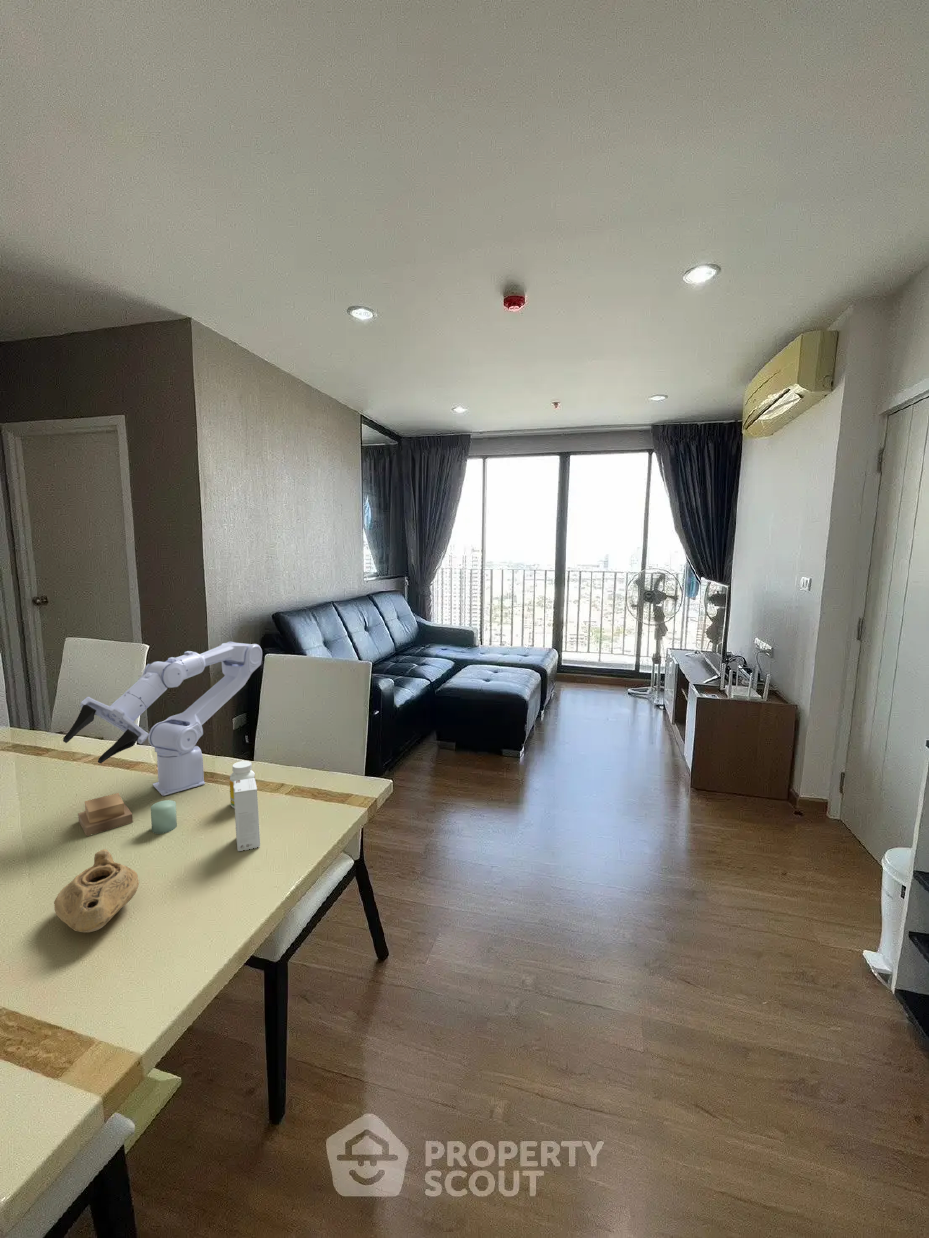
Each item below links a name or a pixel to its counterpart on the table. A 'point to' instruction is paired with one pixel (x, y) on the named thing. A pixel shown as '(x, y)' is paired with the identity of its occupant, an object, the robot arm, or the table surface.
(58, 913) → the oil lamp
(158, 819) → the green cylinder
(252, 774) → the supplement bottle
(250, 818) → the skincare box
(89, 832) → the base block
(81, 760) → the table surface
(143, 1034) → the table surface
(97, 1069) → the table surface
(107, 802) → the top block
